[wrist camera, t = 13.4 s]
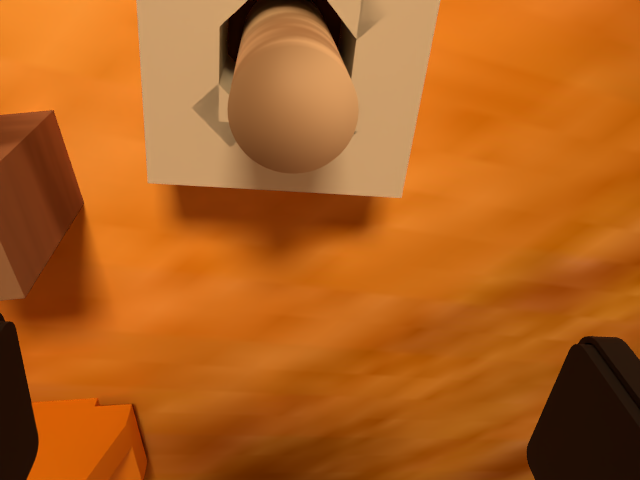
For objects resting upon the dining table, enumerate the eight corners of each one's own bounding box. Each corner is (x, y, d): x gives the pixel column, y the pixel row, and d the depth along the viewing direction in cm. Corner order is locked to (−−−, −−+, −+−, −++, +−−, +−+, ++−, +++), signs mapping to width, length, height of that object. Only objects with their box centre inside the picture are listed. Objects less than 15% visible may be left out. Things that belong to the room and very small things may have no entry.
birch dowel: (331, -5, 27) (367, 52, 17) (322, 80, 29) (349, 177, 19) (244, -14, 27) (228, 39, 17) (242, 74, 29) (226, 169, 19)
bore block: (423, -90, 26) (457, -87, 21) (382, 154, 32) (401, 197, 27) (156, -122, 24) (128, -126, 20) (166, 139, 30) (147, 183, 26)
